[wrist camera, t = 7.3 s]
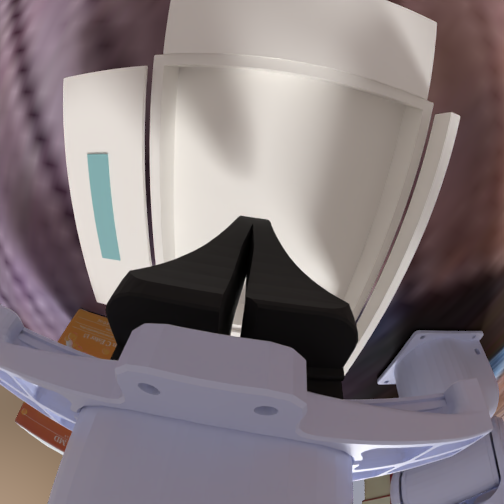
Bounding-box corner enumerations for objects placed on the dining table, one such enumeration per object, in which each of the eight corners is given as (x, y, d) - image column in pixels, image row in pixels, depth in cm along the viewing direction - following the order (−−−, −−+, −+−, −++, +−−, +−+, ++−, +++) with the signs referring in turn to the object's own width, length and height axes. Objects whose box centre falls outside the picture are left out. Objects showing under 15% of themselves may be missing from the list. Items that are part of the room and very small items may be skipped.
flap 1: (62, 78, 9) (67, 77, 9) (96, 303, 16) (98, 299, 17) (144, 65, 9) (147, 65, 9) (156, 315, 16) (158, 311, 17)
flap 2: (434, 114, 9) (441, 117, 9) (348, 339, 17) (352, 341, 17) (451, 112, 5) (460, 116, 5) (325, 393, 13) (329, 395, 13)
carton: (422, 33, 8) (446, 27, 6) (323, 350, 21) (326, 375, 19) (182, -9, 8) (164, -24, 6) (176, 329, 21) (167, 353, 19)
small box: (155, 327, 22) (101, 472, 11) (162, 367, 25) (126, 484, 14) (77, 305, 22) (12, 421, 11) (94, 346, 25) (48, 447, 14)
